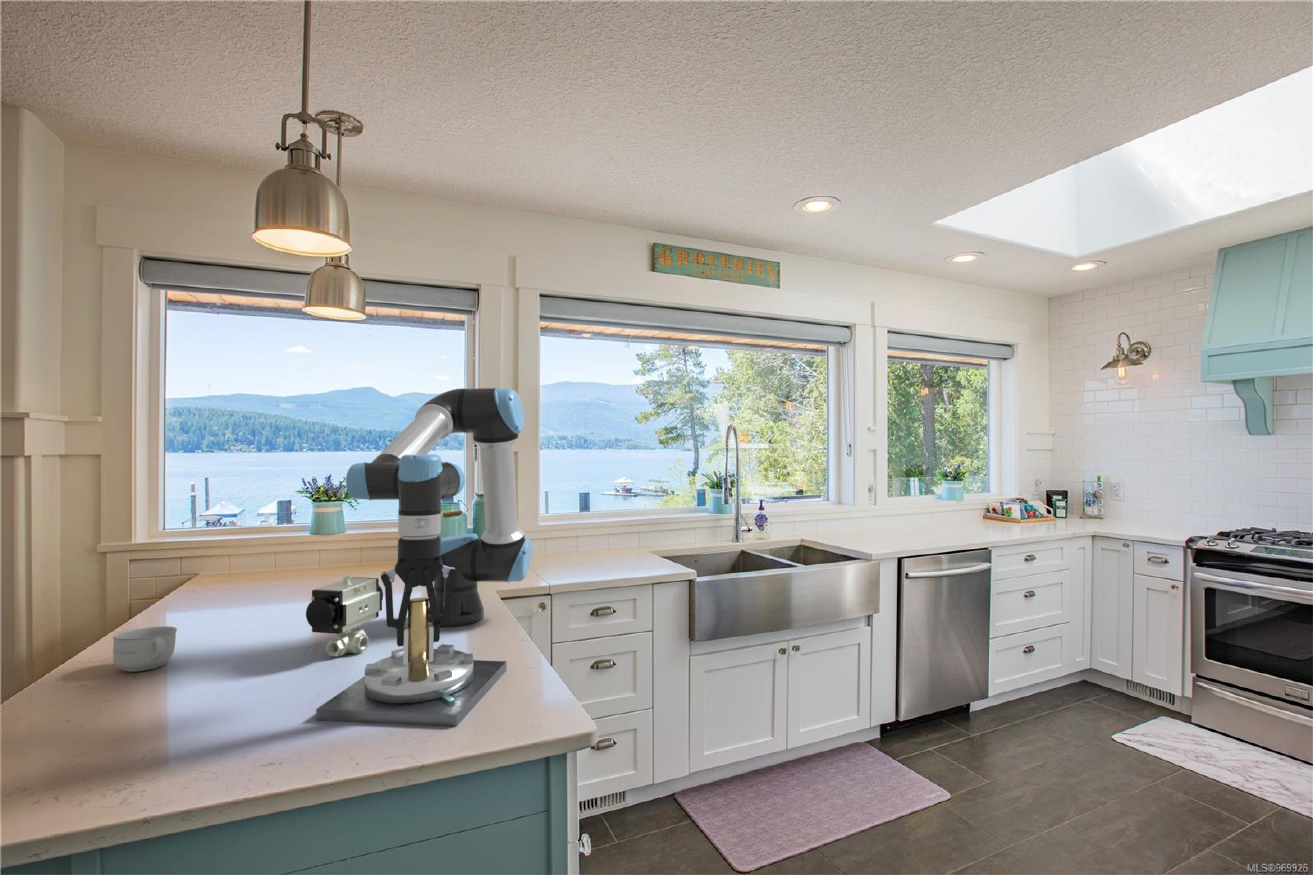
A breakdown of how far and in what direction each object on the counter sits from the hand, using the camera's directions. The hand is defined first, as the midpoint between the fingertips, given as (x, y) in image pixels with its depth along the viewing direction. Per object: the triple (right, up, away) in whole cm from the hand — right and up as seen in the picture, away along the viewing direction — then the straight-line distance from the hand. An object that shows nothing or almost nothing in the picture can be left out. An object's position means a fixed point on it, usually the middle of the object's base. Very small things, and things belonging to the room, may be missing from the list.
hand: (418, 660), depth 116 cm
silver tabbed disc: (-2, -6, +6) cm, 9 cm away
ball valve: (-28, -9, +30) cm, 42 cm away
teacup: (-67, -9, +19) cm, 70 cm away
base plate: (-2, -9, +6) cm, 11 cm away
